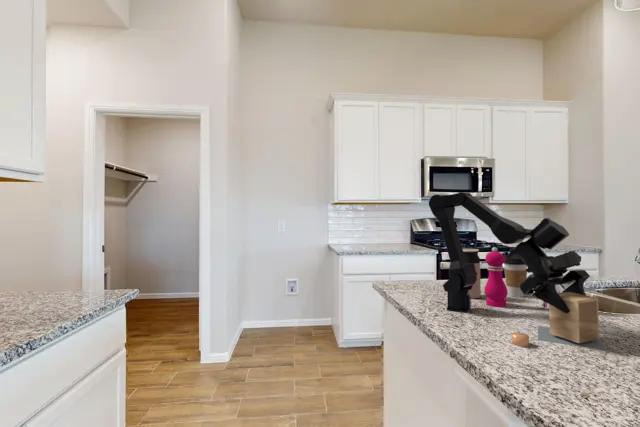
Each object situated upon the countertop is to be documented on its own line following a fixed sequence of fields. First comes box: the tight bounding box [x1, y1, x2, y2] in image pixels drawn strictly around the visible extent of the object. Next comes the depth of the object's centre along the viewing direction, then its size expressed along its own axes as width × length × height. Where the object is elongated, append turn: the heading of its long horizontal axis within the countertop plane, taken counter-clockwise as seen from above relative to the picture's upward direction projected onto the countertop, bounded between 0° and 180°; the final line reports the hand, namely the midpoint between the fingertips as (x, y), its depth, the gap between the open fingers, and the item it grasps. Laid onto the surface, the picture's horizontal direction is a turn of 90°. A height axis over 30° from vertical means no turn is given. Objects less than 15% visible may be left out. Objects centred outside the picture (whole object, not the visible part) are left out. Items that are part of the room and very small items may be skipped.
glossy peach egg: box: [511, 331, 530, 348], centre depth 81 cm, size 4×4×2 cm
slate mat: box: [537, 325, 607, 351], centre depth 84 cm, size 13×12×1 cm
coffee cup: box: [503, 254, 528, 298], centre depth 129 cm, size 8×8×15 cm
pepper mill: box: [484, 246, 509, 308], centre depth 117 cm, size 7×7×20 cm
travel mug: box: [463, 248, 482, 300], centre depth 129 cm, size 8×8×18 cm
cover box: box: [548, 291, 600, 343], centre depth 83 cm, size 7×7×10 cm
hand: (579, 310), depth 82 cm, fingers closed on cover box, 7 cm apart
